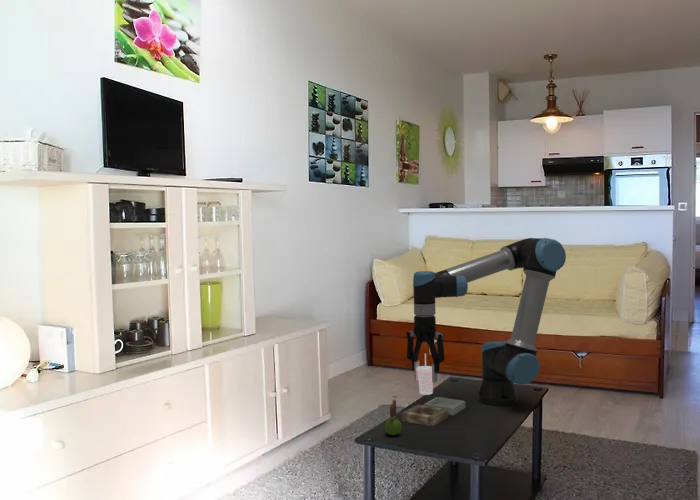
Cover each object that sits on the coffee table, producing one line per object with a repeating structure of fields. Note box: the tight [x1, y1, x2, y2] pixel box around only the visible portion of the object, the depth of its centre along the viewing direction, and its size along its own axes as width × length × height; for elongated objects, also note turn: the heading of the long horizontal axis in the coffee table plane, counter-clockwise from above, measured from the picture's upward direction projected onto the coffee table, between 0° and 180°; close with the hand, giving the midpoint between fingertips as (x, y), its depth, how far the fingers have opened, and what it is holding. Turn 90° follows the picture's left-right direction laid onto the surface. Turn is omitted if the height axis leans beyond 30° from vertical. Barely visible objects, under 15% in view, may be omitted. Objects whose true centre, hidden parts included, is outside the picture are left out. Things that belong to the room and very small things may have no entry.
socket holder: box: [401, 404, 449, 427], centre depth 225 cm, size 12×12×3 cm
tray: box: [423, 396, 466, 416], centre depth 237 cm, size 12×12×2 cm
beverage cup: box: [417, 353, 434, 396], centre depth 224 cm, size 6×6×14 cm
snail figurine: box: [384, 395, 402, 436], centre depth 209 cm, size 5×6×12 cm
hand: (425, 380), depth 225 cm, fingers closed on beverage cup, 6 cm apart
